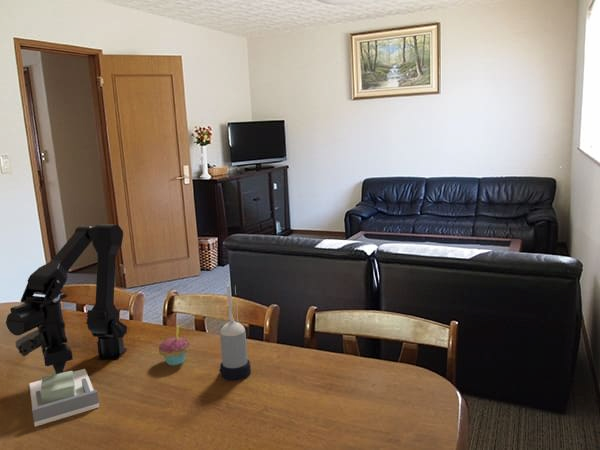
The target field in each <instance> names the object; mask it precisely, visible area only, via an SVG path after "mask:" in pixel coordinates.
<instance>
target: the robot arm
mask: <svg viewBox="0 0 600 450" xmlns="http://www.w3.org/2000/svg"><path fill="white" fill-rule="evenodd" d="M123 239H124V231H123V229H122V227H121V226H120V225H119V224H109V223H107V224H104V223H100V224H96V225H95V226H91V225H80V226H77V227H76V228H75V230H74V232H73V234H72V235H71V237H70V238H69V239H68V240H67V241H66V242H65V244H64V245H63V246H61V249H60V250H59V251H58V252H57V253H56V254H55V255H54V257H53V258H52V259H50V261H49V262H47V263H45V264H43V265H41V266H40V267H38V268H37V269H36V270H35V271H34V272H33V273H31V274H30V275H29V277H28V278H27V284H26V286H25V289H24V290H23V294H22V297H21V299H20V303H21V304H20V305H15V306H11V307H10V313H8V315H7V316H6V320H5V325H6V328H7V329H8V331H9V332H10V334H12V335H15V336H18V337H19V336H22V335H23V334H25V333H27V334H26V335H23V336H22V337H20V338H18V339H17V340H16V341H15V347H16V349H17V350H18V353H19V354H20V355H21V357H25V356H28V355H29V354H30V353H31V352H33V351H35V350H37V349H39V348H41V352H42V356H43V362H44V366H45V367H50V366H52V368H53V370H54V373H55V374H59V373H63V372H64V370H65V366H66V363H67V362H69V361H70V362H71V361H72V360H73V351H72V348H71V347H70V346H68V338H67V335H66V324H65V320H64V314H63V309H62V301H61V300H64V299H65V298H68V294H66V293H64V292H62V290H63V288H64V286H65V284H66V283H67V281H68V273H69V271H70V270H71V268H72V267H73V266H74V264H75V263H76V262H77V261H78V259H79V258H80V257H81V256H82V254H83V253H84V252H85V250H86V249H87V248H88V246H89V245H91V243H92V246H93V249H94V251H95V252H96V255H97V257H96V258H97V261H96V263H97V264H96V282H95V283H96V284H95V303H94V305H93V307H92V309H88V310H87V312H86V317H87V318H86V323H85V324H86V325H87V329H88V330H89V332H90V333H91V334H92V337H95V338H97V341H96V346H97V347H96V348H97V353H98V356H97V359H98V360H109V359H110V360H118V359H120V358H121V357H122V355H123V354H124V353H126V351H127V349H128V348H127V347H125V343H124V337H125V335H126V334H128V333H127V332H128V326H127V325H126V324H124V323H122V322H121V321H120V315H119V314H120V312H119V311H118V309H117V307H116V304H115V303H114V302H115V299H114V298H115V278H116V256H117V253H118V252H119V250H121V247H122V246H123V245H122V244H123ZM38 295H40V296H38ZM36 328H37V329H36ZM33 329H36V330H33ZM32 330H33V331H32ZM30 331H31V332H30ZM28 332H29V333H28Z"/></svg>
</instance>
